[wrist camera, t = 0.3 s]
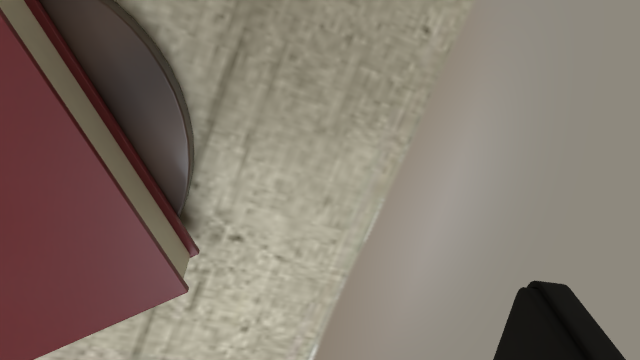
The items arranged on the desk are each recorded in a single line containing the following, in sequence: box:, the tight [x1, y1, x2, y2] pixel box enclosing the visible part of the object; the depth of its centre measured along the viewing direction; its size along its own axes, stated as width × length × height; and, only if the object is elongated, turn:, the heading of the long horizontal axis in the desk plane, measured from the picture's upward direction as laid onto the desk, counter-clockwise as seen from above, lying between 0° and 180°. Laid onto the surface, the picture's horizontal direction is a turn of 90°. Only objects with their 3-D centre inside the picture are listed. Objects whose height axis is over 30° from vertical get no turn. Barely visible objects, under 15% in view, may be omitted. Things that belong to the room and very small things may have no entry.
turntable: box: [39, 0, 194, 218], centre depth 22 cm, size 14×14×1 cm
